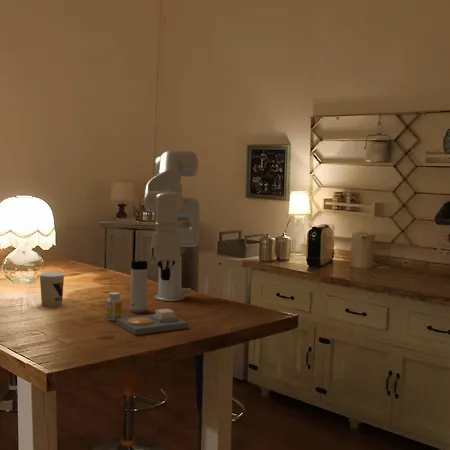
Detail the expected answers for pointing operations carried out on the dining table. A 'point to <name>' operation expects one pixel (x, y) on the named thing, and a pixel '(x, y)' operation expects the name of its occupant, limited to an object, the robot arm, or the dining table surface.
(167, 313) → the button
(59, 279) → the coffee cup
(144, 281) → the travel mug
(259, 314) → the dining table surface
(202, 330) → the dining table surface
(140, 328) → the grey flat rectangular block
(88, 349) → the dining table surface
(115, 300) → the supplement bottle
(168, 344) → the dining table surface
